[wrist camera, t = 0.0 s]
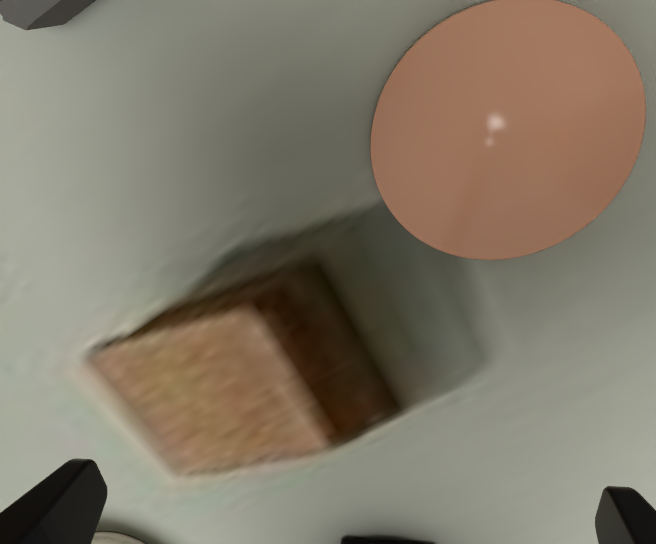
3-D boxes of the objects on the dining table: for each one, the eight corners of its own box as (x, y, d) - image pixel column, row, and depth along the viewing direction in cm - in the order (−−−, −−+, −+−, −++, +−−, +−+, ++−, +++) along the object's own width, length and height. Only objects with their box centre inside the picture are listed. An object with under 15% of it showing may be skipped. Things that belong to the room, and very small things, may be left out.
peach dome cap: (610, 251, 22) (615, 258, 21) (376, 254, 23) (375, 261, 23) (669, -17, 17) (678, -17, 16) (365, 10, 18) (364, 11, 18)
